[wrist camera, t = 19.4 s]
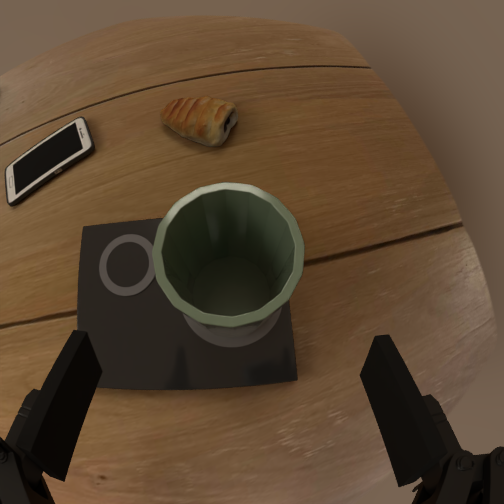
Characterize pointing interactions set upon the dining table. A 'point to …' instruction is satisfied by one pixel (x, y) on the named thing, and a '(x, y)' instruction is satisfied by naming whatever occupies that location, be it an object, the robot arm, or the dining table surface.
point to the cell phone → (47, 159)
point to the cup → (228, 257)
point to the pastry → (201, 119)
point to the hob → (164, 323)
